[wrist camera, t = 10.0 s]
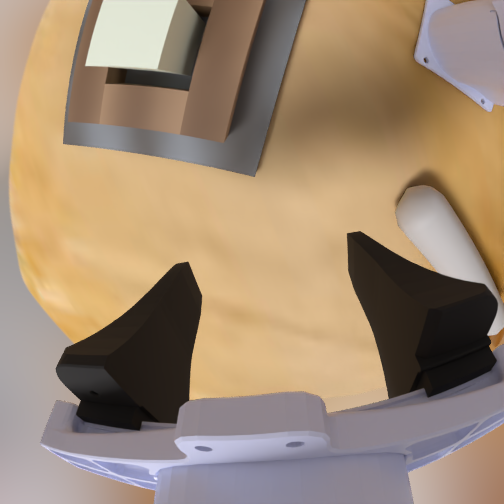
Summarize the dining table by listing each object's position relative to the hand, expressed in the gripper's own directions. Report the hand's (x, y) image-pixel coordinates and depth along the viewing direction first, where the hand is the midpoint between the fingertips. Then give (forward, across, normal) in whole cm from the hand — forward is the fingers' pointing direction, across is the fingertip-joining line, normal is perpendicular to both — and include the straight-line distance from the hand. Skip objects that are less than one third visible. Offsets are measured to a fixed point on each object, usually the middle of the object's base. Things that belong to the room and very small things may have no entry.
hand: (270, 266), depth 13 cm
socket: (+10, +4, -12) cm, 16 cm away
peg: (+9, +4, -12) cm, 16 cm away
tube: (+11, -19, +11) cm, 25 cm away
